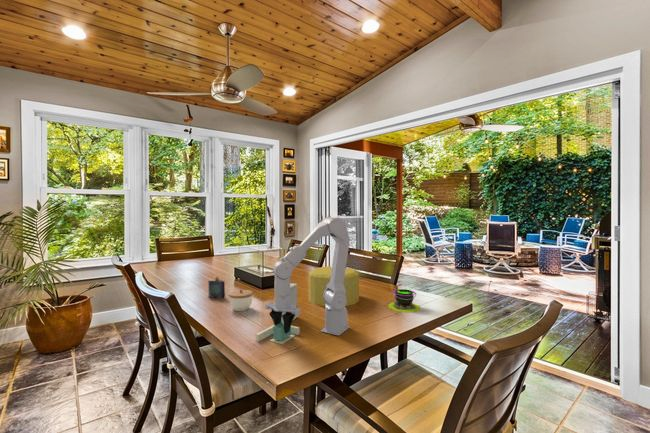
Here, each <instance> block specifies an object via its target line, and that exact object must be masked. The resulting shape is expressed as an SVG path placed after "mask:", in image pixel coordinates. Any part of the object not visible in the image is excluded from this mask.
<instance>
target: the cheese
mask: <svg viewBox="0 0 650 433" xmlns="http://www.w3.org/2000/svg"><path fill="white" fill-rule="evenodd" d="M331 270H332V265H331V266H322V267H317V268H313V269H311V270H310V271H309V272H308V301H309V302H310V303H312V304H314V305H317V306H322V307H325V306H326V302H325V301H324V299H323V294H324V292H325V290H326V287H327V284H328V283H329V282H330V277H331ZM343 285H344V288H345V290H346V293H345V296H346V300H347V302H346V305H345V307H349V306H353V305H355V304H358V303H359V301H360V272H359V271H357V270H356V269H354V268H351V267H346V270H345V276H344V283H343Z"/></svg>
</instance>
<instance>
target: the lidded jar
mask: <svg viewBox="0 0 650 433" xmlns="http://www.w3.org/2000/svg"><path fill="white" fill-rule="evenodd" d="M253 295H254V294H253V290H249V289H242V288H240V289H238V290H233V291H230V292H229V293H228V296H229V297H228V298H229V300H228V302H229V303H230V307H231V308H232V309H233V310H234V312H244V311H247V310H248V309H249V308H250V307H251V305H252V303H253Z"/></svg>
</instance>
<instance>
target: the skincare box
mask: <svg viewBox="0 0 650 433" xmlns="http://www.w3.org/2000/svg"><path fill="white" fill-rule="evenodd" d="M290 305H291V306H294V307H296V308H298V283H291V282H290ZM283 314H286V312H282V315H283ZM298 316H299V315H298ZM298 316H297V315H295V316H294V318H293V320H292V322H293V321H294V320H296V318H298ZM281 322H283V317H282V318H281Z"/></svg>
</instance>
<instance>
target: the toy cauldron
mask: <svg viewBox="0 0 650 433" xmlns="http://www.w3.org/2000/svg"><path fill="white" fill-rule="evenodd" d="M402 283H403V282H402ZM402 283H400V285H402ZM403 286H404V287H406V285H403ZM408 287H411V286H409V285H408ZM391 293H392V294H393V296H394V299H395V301H393V302H390V303H389V304H388V305H387V306H388V308H389V309H390V308H391V309H390V310H393V311H396V312H402V313H414V312H418V311H420V310H421V307H420V305H418V304H416V303H414V302H413V301H414V298H416V297H417V292H416V291H414V290H413V287H411V289H407V288H405V289H404V288H401V289H400V288H399V289H398V288H397V289H394V290H392V292H391Z"/></svg>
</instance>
